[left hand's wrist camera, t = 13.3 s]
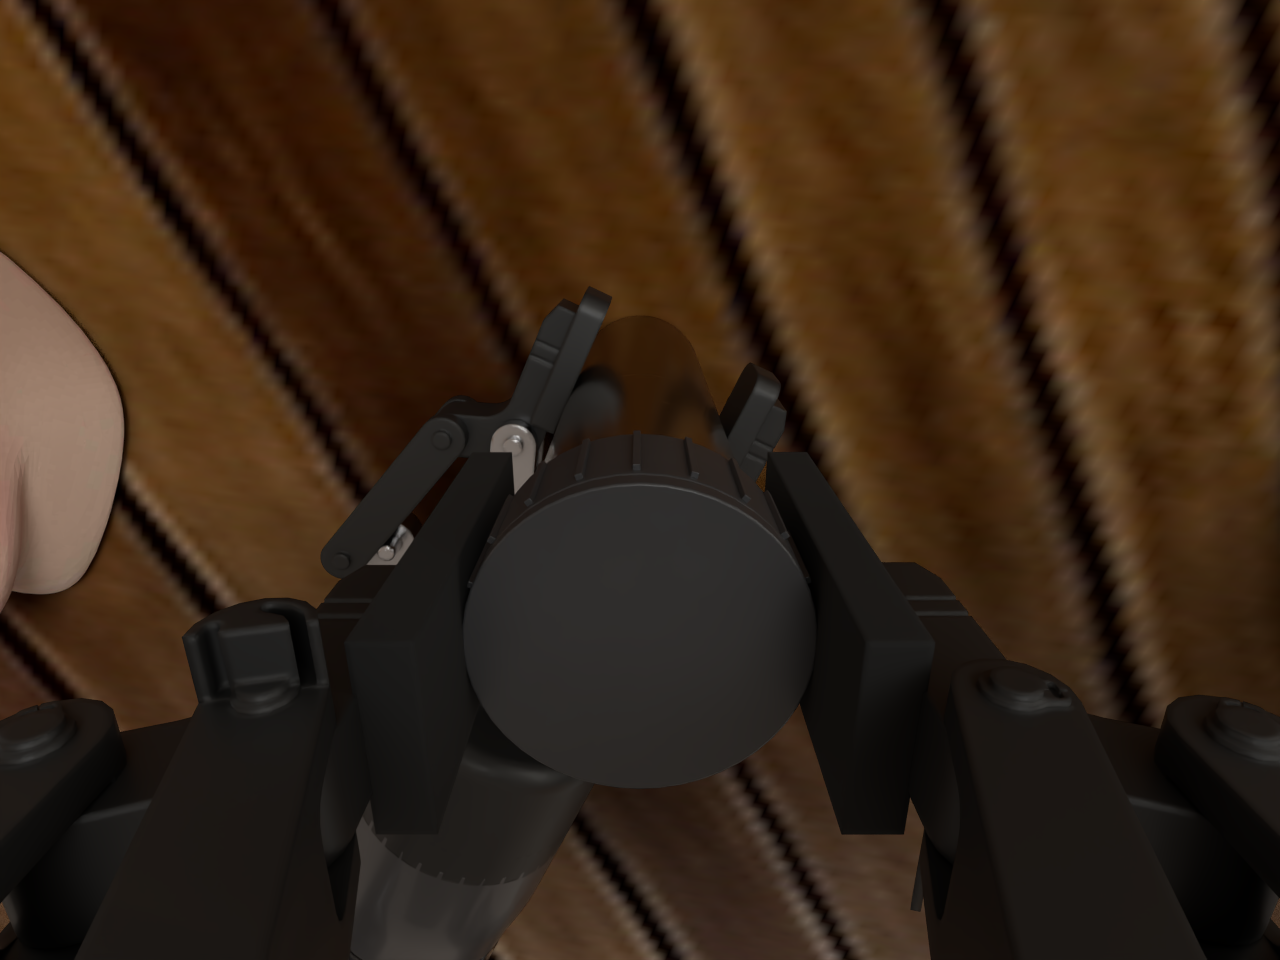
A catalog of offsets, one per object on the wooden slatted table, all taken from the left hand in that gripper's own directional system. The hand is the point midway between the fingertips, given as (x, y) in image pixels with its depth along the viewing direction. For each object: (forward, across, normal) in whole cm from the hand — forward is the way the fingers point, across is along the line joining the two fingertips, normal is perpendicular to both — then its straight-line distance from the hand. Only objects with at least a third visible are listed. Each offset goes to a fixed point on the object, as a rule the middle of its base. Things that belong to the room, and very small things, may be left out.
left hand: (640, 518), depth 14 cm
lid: (-4, 0, 0) cm, 4 cm away
